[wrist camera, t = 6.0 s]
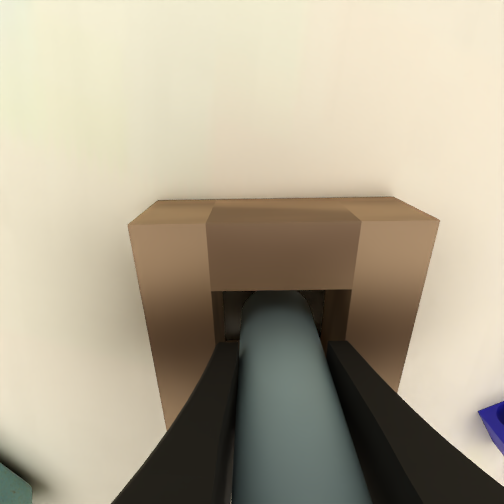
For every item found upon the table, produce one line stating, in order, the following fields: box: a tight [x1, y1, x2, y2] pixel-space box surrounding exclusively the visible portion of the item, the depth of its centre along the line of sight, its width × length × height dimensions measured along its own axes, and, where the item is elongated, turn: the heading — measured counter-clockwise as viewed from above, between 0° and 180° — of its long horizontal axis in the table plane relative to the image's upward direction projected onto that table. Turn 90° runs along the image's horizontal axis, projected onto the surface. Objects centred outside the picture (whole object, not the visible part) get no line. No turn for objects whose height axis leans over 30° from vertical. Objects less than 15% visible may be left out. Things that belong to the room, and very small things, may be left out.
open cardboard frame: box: [128, 197, 440, 431], centre depth 12 cm, size 9×9×3 cm
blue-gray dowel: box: [231, 290, 373, 504], centre depth 8 cm, size 3×3×8 cm
